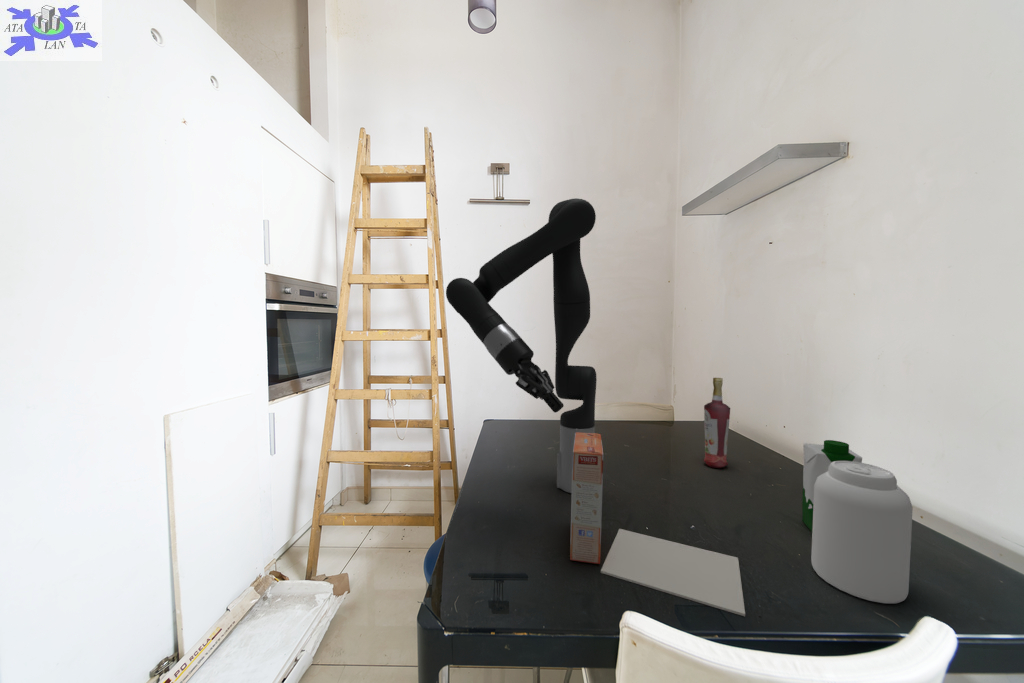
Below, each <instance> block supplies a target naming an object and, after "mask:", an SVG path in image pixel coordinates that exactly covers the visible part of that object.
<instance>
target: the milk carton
mask: <svg viewBox="0 0 1024 683" xmlns="http://www.w3.org/2000/svg"><path fill="white" fill-rule="evenodd" d="M802 444H803V472H802V473H803V474H802V475H803V476H802V497H801V498H802V502H801V504H802V505H801V508H802V510H801V515H802V517H801V518H802V519H801V520H802V522H803V523H804V525H805V526H806V527H807V528H808V529H809V531H810V532H811V533H812V530H813V505H814V484H815V482H816V480H817V477H818V476H820V475H822V474H823V473H825V472H827V471H828V468H829V465H830V464H831V463H832V462H834V461H853V462H860V463H863V457H862V456H861V455H859V454H858V453H856V452H854V451H853V450H851V449H850V444H848V443H847V442H844V441H840V440H834V439H832V440H831V439H826V440H823V444H817V443H807V442H803V443H802Z"/></svg>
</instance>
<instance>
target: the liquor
mask: <svg viewBox="0 0 1024 683" xmlns="http://www.w3.org/2000/svg"><path fill="white" fill-rule="evenodd" d="M723 381H724V380H723V378H722V377H713V378H712V384H713V389H712V391H713V392H712V397H711V398H712V399H711V402H707V403H706V404H705V405H704V406H703V414H704V415H703V417H704V420H703V422H704V423H703V426H704V458H703V462H704V463H705V464H706V465H707V466H708V467H710V468H713V469H723V468H724V467H726V466H727V465H728V464H729V463H728V461H727V455H728V453H727V452H728V439H729V438H728V437H729V430H730V428H729V427H730V418H731V417H730V416H731V407H730V406H729V405H727V404H726V403H724V402H723V391H722V388H723Z"/></svg>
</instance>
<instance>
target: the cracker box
mask: <svg viewBox="0 0 1024 683" xmlns="http://www.w3.org/2000/svg"><path fill="white" fill-rule="evenodd" d="M603 480H604V450H603V441H602V434H600V433H596V432H595V433H580V432H576V433H575V439H574V448H573V461H572V493H570V494H571V495H570V496H571V500H570V502H571V503H570V504H571V505H570V540H569V541H570V544H569V545H570V546H569V548H570V549H569V554H570V555H569V557H570V558H569V560H570V561H575V562H580V563H587V564H588V563H589V564H596V565H600V564H601V549H602V548H601V547H602V544H601V543H602V540H601V539H602V512H603V511H602V510H603V484H604V483H603Z"/></svg>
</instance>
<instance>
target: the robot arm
mask: <svg viewBox="0 0 1024 683" xmlns="http://www.w3.org/2000/svg"><path fill="white" fill-rule="evenodd" d="M596 215H597V214H596V210H595V208H594V206H593V205H592V204H591V203H590V202H589V201H588V200H586V199H582V198H570V199H566V200H562V201H559V202H557V203H556V204H555V205H554V206H553V207H552V208H551V210H550V212H549V215H548V221H547V223H545V224H544V225H543V226H542V227H540V228H539V229H538V230H536V231H535V232H533V233H532V234H530V235H528V236H526V237H525V238H522V240H520V241H518V242H516V243H514V244H512V245H510V246H509V247H507V248H506V249H504V250H503V251H501V252H500V253H498V254H496V255H495V256H494V257H491V259H490V260H488V261H487V262H485V263H484V264H483V265H482V266H480V268H479V272H478V276H477V278H476V279H475V280H474V281H473V282H472V281H471V280H470V279H468V278H465V277H457V278H453V279H452V280H451V281H450V282H448V284H447V286H446V288H445V289H446V290H445V297H446V299H447V302H448V303H449V305H450V306H451V307H452V308H453V310H455V311H456V313H457V314H459V315H460V316H461V317H462V318H463V320H464V321H465V322H466V323H467V324H468V325H469V327H470V329H471V330H472V332H473V333H474V335H476V337H477V338H478V339H479V340H480V342H481V343H482V344H483V345H484V347H485V349H486V351H487V352H488V353H489V354H490V356H492V358H493V359H494V360H495V362H496V363H497V364H498V365H499V366H500V367H501V368H502V370H503V371H504V373H506V375H508V376H512V375H514V376H515V377H516V378H517V380H516V381H515V385H516V387H518V388H520V389H522V390H523V391H524V392H526V393H527V394H529V395H530V396H532V397H533V398H534V399H536V400H537V399H540V400H542V401H544V402H545V403H546V405H547V406H548V407H549V409H551V411H552V412H553V413H557V412H559V411H561V410H562V409H563V408H564V407H565V406H564V403H563V402H562V401H561V400H560V399H562V400H570V401H571V400H573V401H582V403H581V405H580V406H578V407H577V408H573V409H569V410H566V411H564V412H562V413H561V414H560V417H559V418H560V419H559V451H558V452H557V454H556V457H557V458H556V488H557V489H561V490H562V491H564V492H566V493H570V494H572V461H573V448H574V439H575V433H576V432H580V433H596V432H595V430H596V429H595V428H596V426H595V425H596V420H595V418H596V417H595V415H596V412H595V411H596V410H595V409H596V395H597V393H596V392H597V379H598V378H597V371H596V369H595V368H594V367H593V366H590V365H589V366H588V365H570V364H569V357H570V354H571V352H572V350H573V348H574V346H575V345H576V343H577V341H578V340H579V338H580V337H581V336H582V334H583V333H584V331H585V329H586V327H587V326H588V324H589V323H590V318H591V292H590V287H589V283H588V281H587V278H586V274H585V271H584V267H583V264H582V258H581V239H583V238H584V237H586V236H587V235H589V234H590V232H591V231H592V230H593V228H594V227H595V224H596V220H597V219H596V218H597V216H596ZM550 255H552V282H553V318H554V333H555V334H554V335H555V366H554V369H555V370H554V371H555V372H554V374H555V375H554V383H553V381H552V378H551V376H550V374H549V371H547V370H546V369H544V370H543V371H542V370H541V368H540V367H539V366H538V364H536V363H534V361H532V358H533V357H534V351H533V350H532V348H531V347H529V345H528V344H527V343H526V342H525V341H524V339H522V337H521V336H520V335H519V334H518V333H517V331H516V330H515V329H513V328H512V327H511V326H510V325H509V323H508V322H506V320H504V318H503V317H502V316H501V315H500V314H499V312H497V311H496V310H495V308H493V307H492V306H491V304H489V303H490V302H491V300H492V299H493V298H495V296H496V295H497V294H498V293H499V292H500V291H501V290H502V289H504V288H505V287H507V285H510V284H511V283H512V282H514V281H515V280H516V279H518V278H519V277H520V276H522V275H523V274H524V273H526V272H527V271H529V270H530V269H531V268H532V267H534V266H535V265H537V264H538V263H540V262H542V261H543V260H544V259H546V258H547V257H549V256H550ZM554 390H555V393H556V394H555V393H554Z"/></svg>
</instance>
